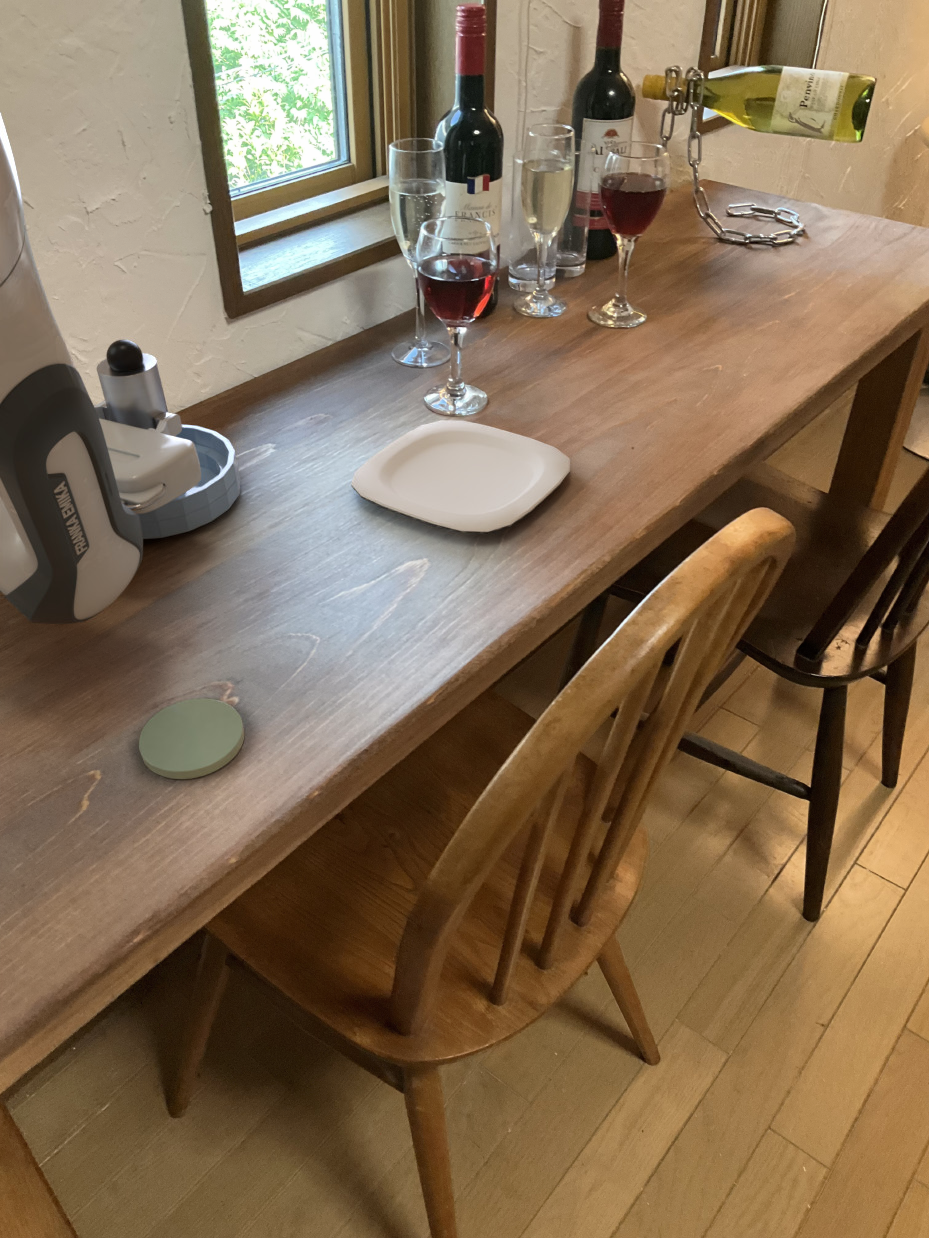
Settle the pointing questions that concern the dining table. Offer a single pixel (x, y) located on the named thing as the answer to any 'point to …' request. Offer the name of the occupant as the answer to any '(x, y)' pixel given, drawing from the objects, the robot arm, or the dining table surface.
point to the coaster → (191, 738)
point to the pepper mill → (131, 385)
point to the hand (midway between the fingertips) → (146, 413)
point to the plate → (462, 476)
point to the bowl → (199, 488)
